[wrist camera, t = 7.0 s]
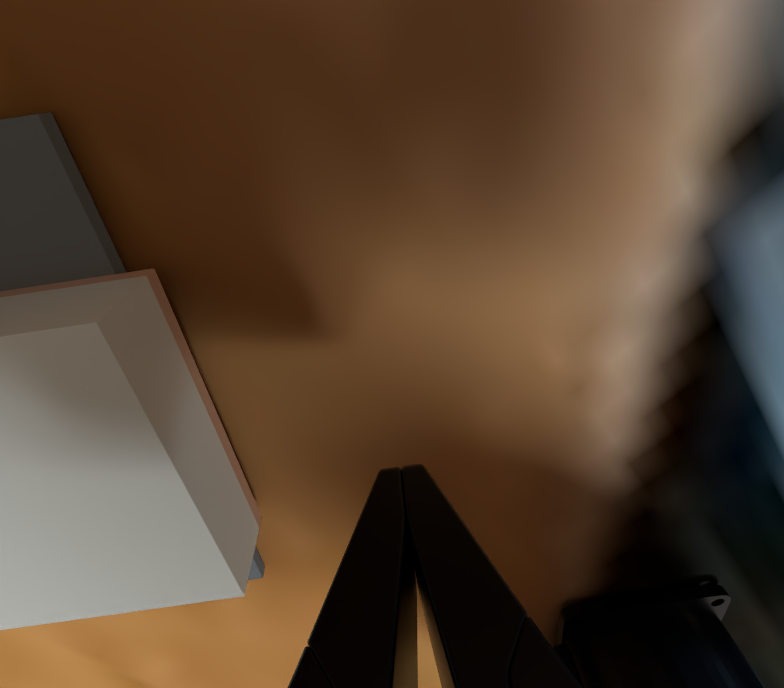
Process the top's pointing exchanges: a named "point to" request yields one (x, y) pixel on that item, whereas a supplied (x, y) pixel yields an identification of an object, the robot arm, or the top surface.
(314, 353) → the top surface
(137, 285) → the tile
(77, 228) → the mat
